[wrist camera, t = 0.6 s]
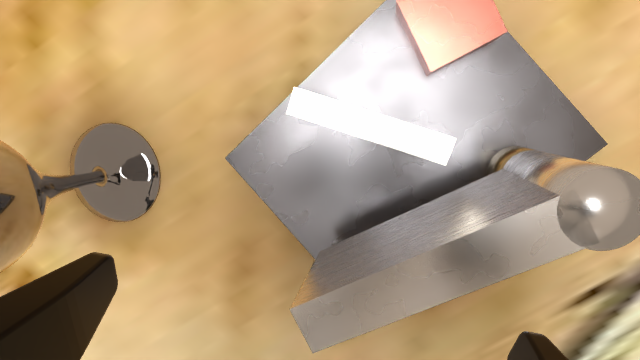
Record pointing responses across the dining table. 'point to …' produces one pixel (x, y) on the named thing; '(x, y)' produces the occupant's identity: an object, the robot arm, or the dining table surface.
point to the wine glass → (77, 185)
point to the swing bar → (466, 243)
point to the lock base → (405, 120)
